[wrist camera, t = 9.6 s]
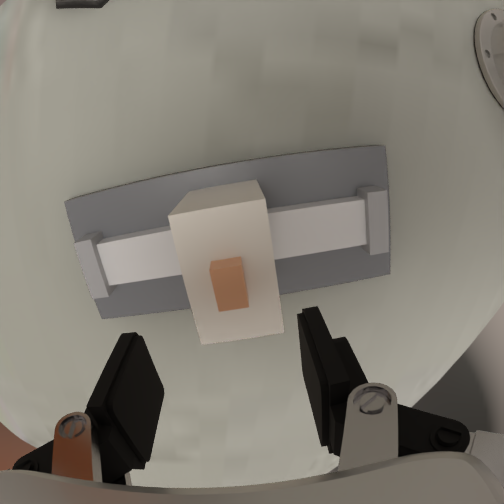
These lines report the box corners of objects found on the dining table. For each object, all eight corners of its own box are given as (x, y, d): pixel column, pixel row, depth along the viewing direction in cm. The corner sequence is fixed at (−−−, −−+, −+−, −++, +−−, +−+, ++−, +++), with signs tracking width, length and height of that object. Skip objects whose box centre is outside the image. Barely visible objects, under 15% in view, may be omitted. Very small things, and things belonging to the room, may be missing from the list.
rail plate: (379, 145, 24) (398, 146, 21) (384, 268, 28) (400, 284, 24) (70, 198, 24) (51, 207, 21) (106, 312, 28) (93, 332, 25)
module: (256, 179, 23) (267, 203, 15) (271, 278, 26) (287, 344, 18) (189, 191, 23) (162, 222, 15) (210, 288, 26) (200, 357, 18)
